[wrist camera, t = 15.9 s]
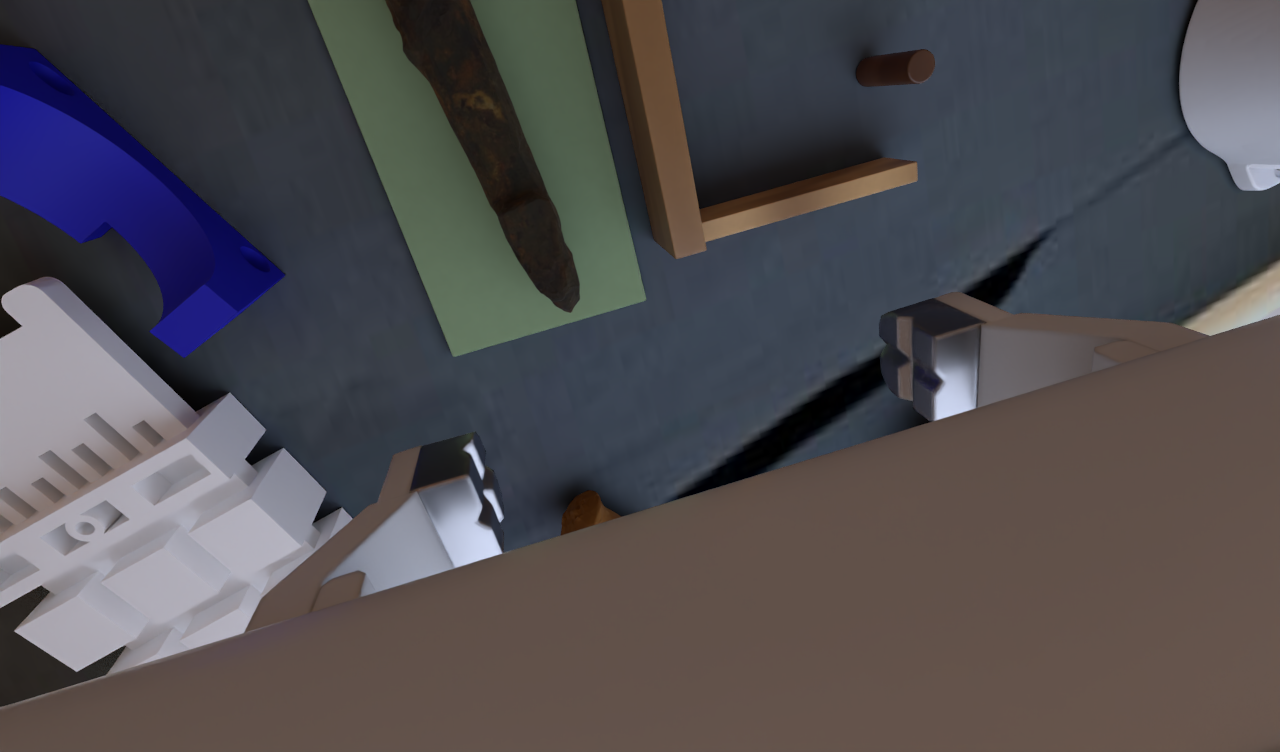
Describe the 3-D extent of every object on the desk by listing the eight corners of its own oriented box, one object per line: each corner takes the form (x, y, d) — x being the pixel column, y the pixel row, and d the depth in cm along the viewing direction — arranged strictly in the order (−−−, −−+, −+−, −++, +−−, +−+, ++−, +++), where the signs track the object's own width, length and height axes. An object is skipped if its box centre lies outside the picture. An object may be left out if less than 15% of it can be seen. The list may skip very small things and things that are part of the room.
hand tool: (329, -103, 24) (292, -147, 20) (424, -137, 24) (407, -187, 20) (518, 317, 32) (520, 348, 28) (588, 290, 33) (600, 317, 28)
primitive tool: (792, 583, 45) (813, 619, 42) (745, 633, 46) (763, 671, 43) (584, 474, 38) (592, 508, 34) (535, 537, 39) (538, 575, 36)
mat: (524, -209, 24) (525, -214, 24) (645, 298, 34) (646, 300, 33) (247, -151, 23) (243, -155, 23) (453, 354, 33) (453, 357, 32)
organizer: (332, 837, 39) (-273, 445, 23) (348, 764, 43) (-153, 392, 28) (508, 740, 39) (18, 279, 23) (507, 677, 43) (93, 253, 27)
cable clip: (-43, 121, 25) (-194, 124, 19) (34, 48, 24) (-98, 31, 19) (218, 331, 30) (157, 380, 24) (285, 275, 29) (237, 311, 24)
